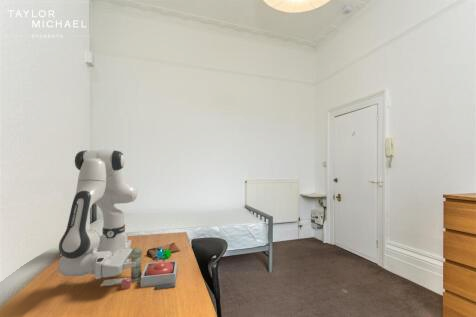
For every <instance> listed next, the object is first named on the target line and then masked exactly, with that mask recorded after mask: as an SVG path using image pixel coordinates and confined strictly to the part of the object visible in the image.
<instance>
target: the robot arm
mask: <svg viewBox="0 0 476 317" xmlns="http://www.w3.org/2000/svg"><path fill="white" fill-rule="evenodd" d="M125 164H126V158H125V156H124V153H123V152H122V151H119V150H108V149H97V150H95V149H93V150H87V149H86V150H80V151H79V152H77V153H76V155H75V157H74V166H75V168H76V169H77V170H78V171H79V173H78V176H77V177H78V178H77V183H76V190H75V195H74V196H73V201H72V204H71V207H70V213H69V216H68V222H67V225H66V229H65V232H64V233H63V235H62V237H61V239H60V241H59V243H58V250H59V254H61V257H60V259H59V260H58V267H57V268H58V272H59V273H60V274H61V275H62V276H64V277H65V276H66V277H81V276H86V275H94V277H95V280H99V279H102V278H109V277H111V278H112V277H116V276H118V275H121V274H122V272H123V271H124V270H127V269H131V267H135V266H136V261H132V262H130V261H131V251H132V250H133V249H134V248H131V245H132V240H131V239H128V237H129V236H128V233H127V232H126V223H125V213H124V211H122V209H120V208H117V207H116V206H115V204H121V205H122V204H128V203H133V202H135V200H136V199H137V197H138V191H137V189H136V187H135V186H133V185H130V184H129V183H127V181H125V179H124V178H123V175H122V173H121V170H122V169H123V168H124V165H125ZM94 204H95V205H96V206H97V207H98V208H99V209H100V211H101V213H102V218H103V227H102V230H101V231H102V232H101V233H102V235H100V234H99V233H98V231H96V230H93V229H87V225H88V221H89V216H90V211H91V210H90V209H91V208H92V206H93V205H94Z"/></svg>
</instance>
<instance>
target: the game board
mask: <svg viewBox="0 0 476 317" xmlns="http://www.w3.org/2000/svg"><path fill="white" fill-rule="evenodd" d="M159 262H160V261H159ZM159 262H149V263H148V262H147V263H146V265H145V268H144V269H143V271H142V272H141V275H142V276H141V281H139V282H131V280H132V278H130V277H123V278H113V279H104V280H103V281H102V282H101V284H100V285H99V287H106V286H108V287H109V286H115V285H117V286H118V285H121V290H128V289H130V288H131V287H132V284H136V283H140V287H141V288H144V287H153V286H154V288H153V290H155V291H156V290H162V289H172V288H173V289H174V288H175V287H176V283H177V275H178V266H177V265H178V260H171V261H169V260H167V262H169V263H172V264H173V273H172V274H162V275H152V276H147V268H148V267H149V266H150V265H152V264H155V263H159Z"/></svg>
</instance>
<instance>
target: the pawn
mask: <svg viewBox="0 0 476 317" xmlns="http://www.w3.org/2000/svg"><path fill="white" fill-rule="evenodd" d="M132 249H133V250H132V251H131V259H130V261H131V262H132V261H136V266H135V267H130V272H131V273H130V274H131V275H130V277H129V278H132V280H131V282H137V283H140V282H139V281H141V276H142V254H143V250H142V248H141V247H138V246H137V247H134V248H132Z"/></svg>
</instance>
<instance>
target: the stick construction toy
mask: <svg viewBox="0 0 476 317" xmlns="http://www.w3.org/2000/svg"><path fill="white" fill-rule="evenodd" d="M159 247H160V248H161V252H159V251H158V250H157V247H155V248H156V251H157V253H158V254H157V255H155V254H154V255H153V256H156V257H154V258H153V259H152V260H153V261H154V260H158V261H160V259H162V260H163V262H166V261H165V260H166V259H169V258H171V257H172V253H171V252H170V251H169V250H166V251H165V250H163V251H162V247H161V246H159ZM155 258H156V259H155Z"/></svg>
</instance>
